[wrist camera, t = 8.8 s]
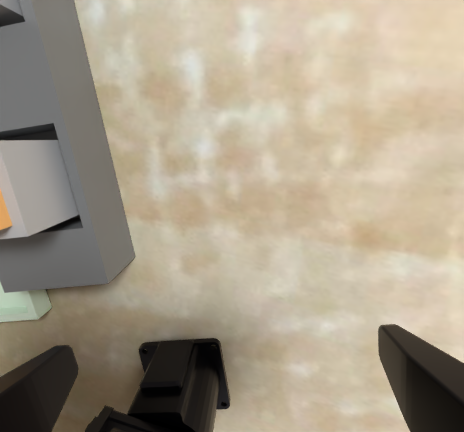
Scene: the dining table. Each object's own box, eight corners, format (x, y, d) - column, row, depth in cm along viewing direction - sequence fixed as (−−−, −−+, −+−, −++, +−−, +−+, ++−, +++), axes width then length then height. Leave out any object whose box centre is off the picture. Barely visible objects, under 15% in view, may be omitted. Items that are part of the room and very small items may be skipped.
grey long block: (135, 257, 21) (106, 285, 17) (48, 265, 22) (1, 294, 18) (46, -115, 16) (-28, -204, 11) (-66, -86, 16) (-171, -159, 12)
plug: (79, 139, 18) (-25, 140, 11) (96, 207, 19) (10, 243, 12) (17, 148, 19) (-120, 154, 12) (37, 213, 20) (-77, 252, 13)
